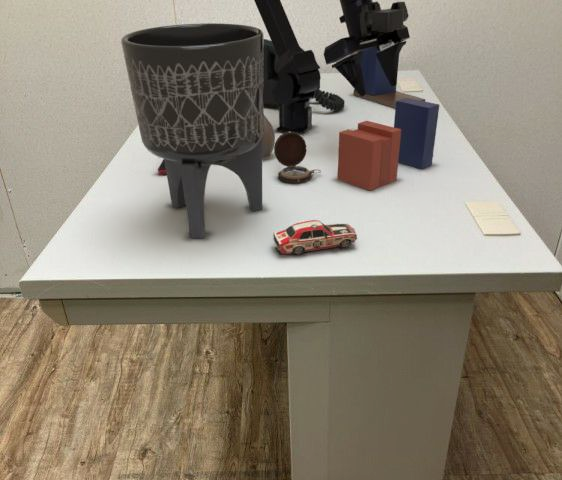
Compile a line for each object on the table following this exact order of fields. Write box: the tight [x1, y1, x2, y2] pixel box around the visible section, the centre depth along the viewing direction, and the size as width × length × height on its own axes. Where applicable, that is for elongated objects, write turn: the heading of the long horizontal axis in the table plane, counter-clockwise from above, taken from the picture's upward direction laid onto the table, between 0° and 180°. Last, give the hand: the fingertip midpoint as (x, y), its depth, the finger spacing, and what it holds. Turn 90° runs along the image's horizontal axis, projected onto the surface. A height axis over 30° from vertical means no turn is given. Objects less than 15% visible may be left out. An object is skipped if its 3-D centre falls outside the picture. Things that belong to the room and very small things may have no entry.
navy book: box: [393, 98, 440, 170], centre depth 114 cm, size 8×3×11 cm, turn 42°
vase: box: [262, 114, 276, 160], centre depth 120 cm, size 7×7×9 cm
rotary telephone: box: [264, 38, 345, 112], centre depth 153 cm, size 33×22×15 cm, turn 58°
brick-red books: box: [337, 120, 401, 192], centre depth 108 cm, size 8×7×9 cm
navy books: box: [360, 47, 400, 96], centre depth 155 cm, size 8×6×11 cm
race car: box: [272, 219, 358, 256], centre depth 88 cm, size 5×12×5 cm, turn 99°
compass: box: [273, 131, 322, 184], centre depth 111 cm, size 8×8×7 cm
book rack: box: [352, 51, 426, 109], centre depth 152 cm, size 8×18×11 cm, turn 32°
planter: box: [120, 22, 265, 239], centre depth 91 cm, size 20×20×26 cm
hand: (379, 90), depth 117 cm, fingers open, 9 cm apart
